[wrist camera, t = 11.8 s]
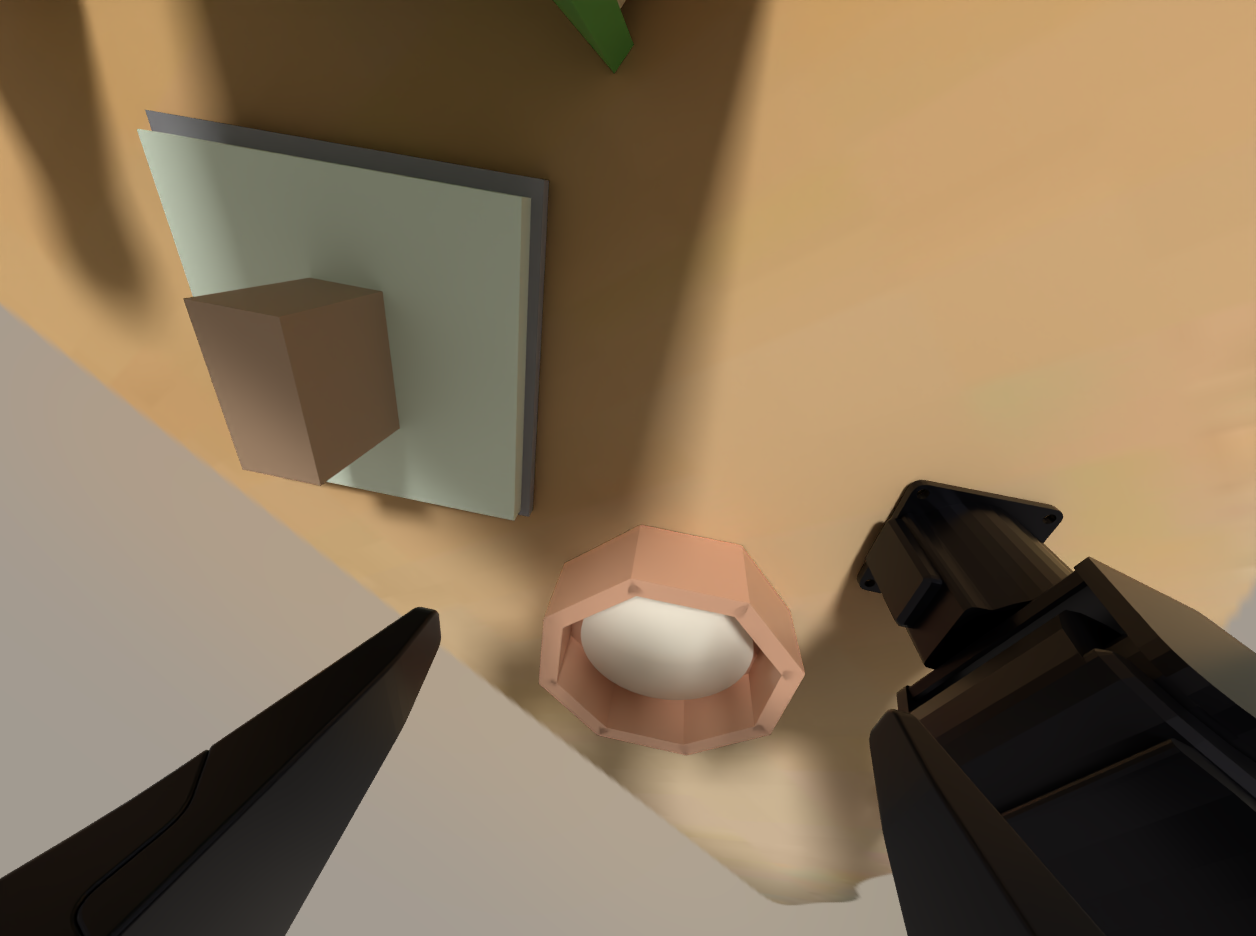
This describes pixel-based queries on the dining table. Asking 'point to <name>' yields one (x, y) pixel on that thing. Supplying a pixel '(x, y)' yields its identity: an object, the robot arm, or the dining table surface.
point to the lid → (356, 319)
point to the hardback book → (600, 27)
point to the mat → (423, 170)
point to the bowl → (670, 642)
